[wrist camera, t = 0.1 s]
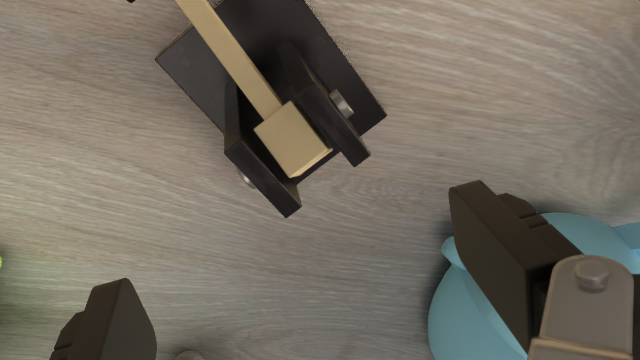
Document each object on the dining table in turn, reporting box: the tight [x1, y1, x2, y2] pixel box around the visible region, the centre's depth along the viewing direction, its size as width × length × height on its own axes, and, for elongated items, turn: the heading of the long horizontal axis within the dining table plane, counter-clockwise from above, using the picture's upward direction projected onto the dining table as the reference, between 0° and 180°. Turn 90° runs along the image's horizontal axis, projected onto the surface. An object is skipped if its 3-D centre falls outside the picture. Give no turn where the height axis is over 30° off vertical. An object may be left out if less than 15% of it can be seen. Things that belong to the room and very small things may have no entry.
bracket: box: [155, 0, 387, 218], centre depth 29 cm, size 12×9×12 cm
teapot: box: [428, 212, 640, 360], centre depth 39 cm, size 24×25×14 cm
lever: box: [127, 0, 333, 178], centre depth 25 cm, size 13×5×2 cm, turn 37°
